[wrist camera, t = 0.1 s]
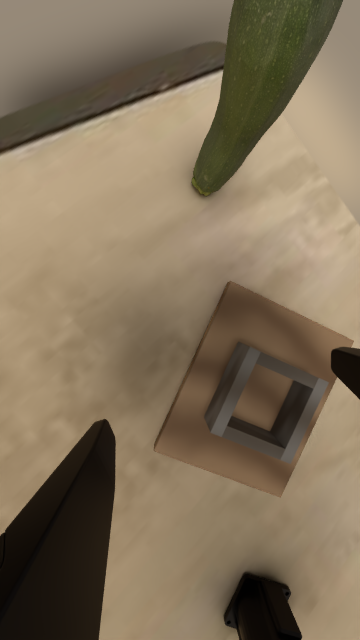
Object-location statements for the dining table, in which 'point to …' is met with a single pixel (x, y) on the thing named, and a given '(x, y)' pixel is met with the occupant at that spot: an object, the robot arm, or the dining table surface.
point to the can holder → (251, 392)
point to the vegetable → (259, 78)
